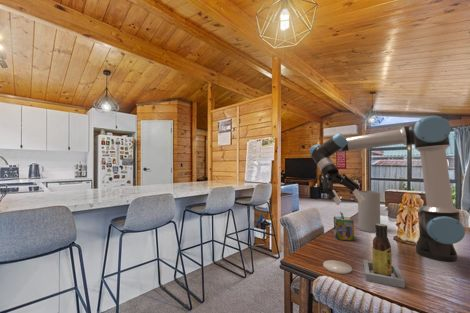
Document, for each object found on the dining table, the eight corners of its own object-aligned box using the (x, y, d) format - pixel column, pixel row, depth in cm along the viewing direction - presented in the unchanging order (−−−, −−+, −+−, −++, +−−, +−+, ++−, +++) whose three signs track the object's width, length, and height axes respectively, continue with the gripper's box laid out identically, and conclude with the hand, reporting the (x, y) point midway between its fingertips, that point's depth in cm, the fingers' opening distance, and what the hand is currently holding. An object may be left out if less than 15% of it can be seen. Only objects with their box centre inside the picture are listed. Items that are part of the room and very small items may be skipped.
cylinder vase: (354, 228, 154) (353, 191, 154) (366, 226, 159) (366, 190, 160) (372, 233, 142) (371, 193, 143) (384, 231, 148) (384, 192, 148)
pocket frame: (397, 272, 93) (397, 265, 93) (404, 287, 81) (404, 280, 81) (363, 266, 98) (363, 260, 98) (365, 280, 86) (365, 273, 86)
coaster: (351, 265, 99) (351, 263, 99) (352, 276, 89) (352, 274, 89) (324, 260, 104) (324, 258, 104) (322, 270, 94) (322, 268, 94)
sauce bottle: (392, 282, 85) (391, 228, 86) (372, 277, 88) (371, 225, 89) (391, 274, 91) (390, 224, 91) (372, 270, 94) (372, 221, 94)
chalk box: (354, 241, 129) (354, 214, 130) (337, 239, 131) (336, 213, 131) (349, 235, 138) (349, 211, 139) (333, 234, 140) (333, 210, 140)
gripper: (343, 173, 126) (366, 205, 111) (304, 173, 118) (324, 208, 103) (350, 163, 121) (376, 196, 106) (311, 163, 113) (333, 198, 98)
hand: (351, 202), depth 105 cm, fingers open, 13 cm apart
